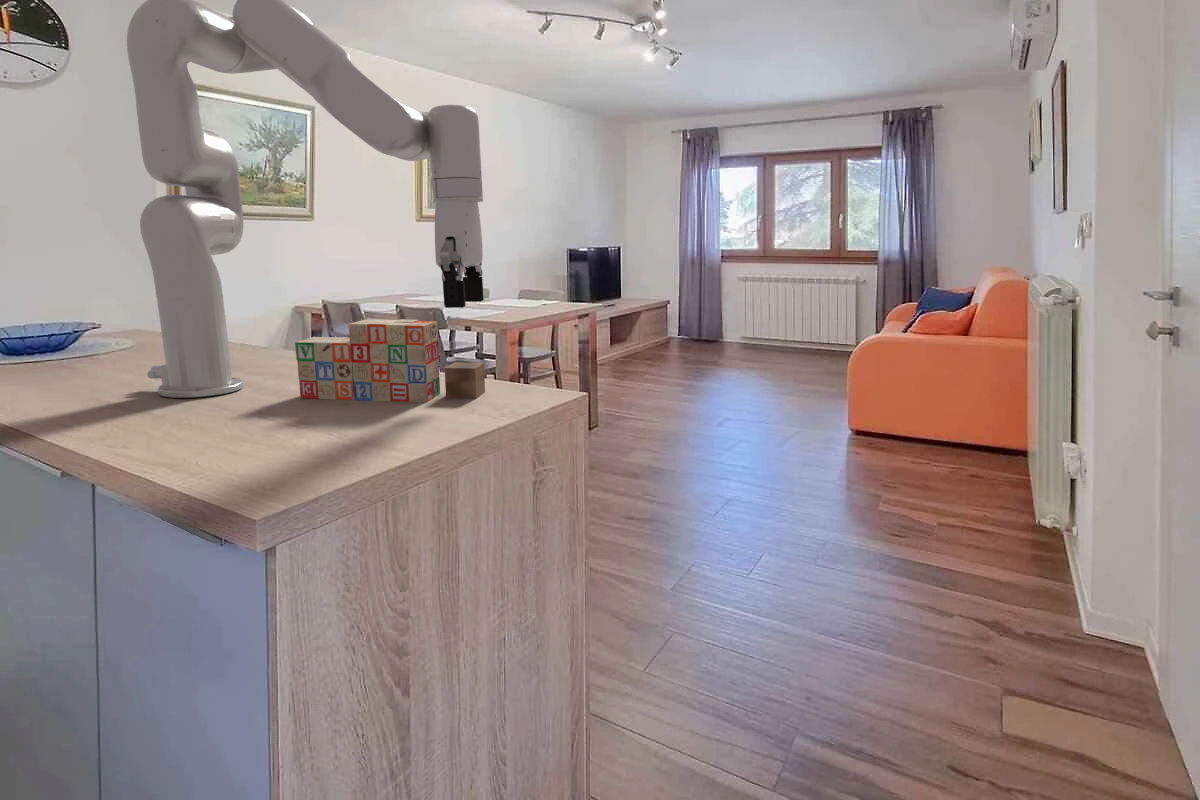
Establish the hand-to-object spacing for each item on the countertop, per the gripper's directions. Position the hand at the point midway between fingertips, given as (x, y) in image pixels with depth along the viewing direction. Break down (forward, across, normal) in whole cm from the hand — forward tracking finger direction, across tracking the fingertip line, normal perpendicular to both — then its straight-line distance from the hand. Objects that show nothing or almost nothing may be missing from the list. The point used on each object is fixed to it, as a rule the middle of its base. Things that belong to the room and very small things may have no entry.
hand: (464, 304), depth 118 cm
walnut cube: (+15, 0, -1) cm, 15 cm away
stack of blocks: (+15, +3, -16) cm, 22 cm away
